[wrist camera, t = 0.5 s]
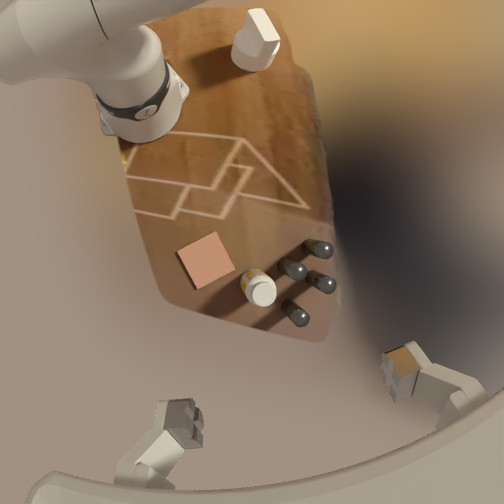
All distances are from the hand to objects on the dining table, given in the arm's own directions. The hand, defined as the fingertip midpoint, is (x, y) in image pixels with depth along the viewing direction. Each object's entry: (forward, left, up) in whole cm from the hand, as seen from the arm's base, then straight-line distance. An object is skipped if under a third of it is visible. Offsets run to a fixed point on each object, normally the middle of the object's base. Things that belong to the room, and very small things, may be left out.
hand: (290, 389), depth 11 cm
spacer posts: (+11, +12, -43) cm, 46 cm away
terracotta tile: (-1, -2, -43) cm, 43 cm away
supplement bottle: (+7, +4, -44) cm, 44 cm away
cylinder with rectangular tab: (-36, +25, -44) cm, 62 cm away
